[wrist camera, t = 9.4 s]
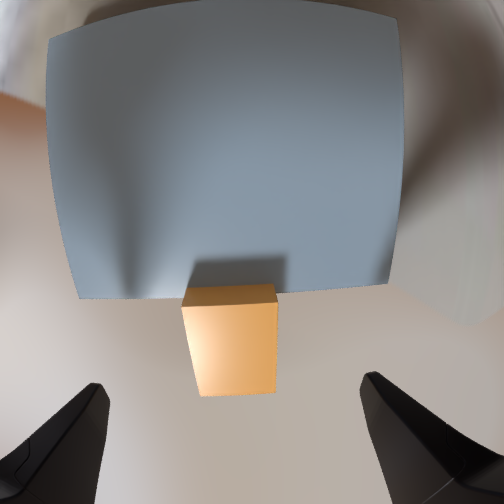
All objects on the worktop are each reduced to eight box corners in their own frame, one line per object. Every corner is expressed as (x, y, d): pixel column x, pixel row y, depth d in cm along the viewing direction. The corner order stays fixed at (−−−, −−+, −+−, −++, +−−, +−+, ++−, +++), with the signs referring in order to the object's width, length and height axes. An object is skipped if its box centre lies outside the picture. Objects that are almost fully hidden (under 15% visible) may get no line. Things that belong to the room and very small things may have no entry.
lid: (375, 31, 8) (414, 9, 5) (356, 335, 14) (378, 376, 11) (71, 48, 8) (30, 32, 5) (118, 347, 13) (100, 390, 10)
